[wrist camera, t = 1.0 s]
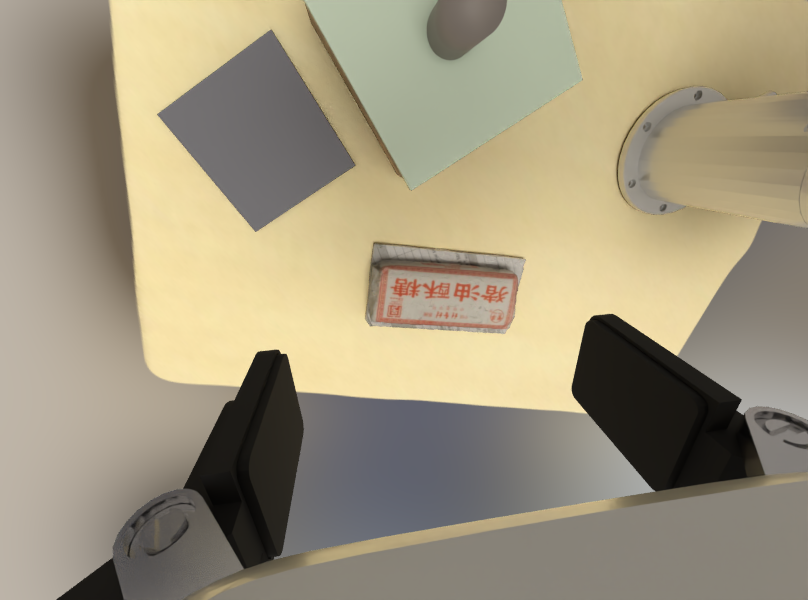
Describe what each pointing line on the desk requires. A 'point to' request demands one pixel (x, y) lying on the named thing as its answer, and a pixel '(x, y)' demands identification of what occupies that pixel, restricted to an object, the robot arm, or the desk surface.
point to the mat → (258, 133)
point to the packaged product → (442, 289)
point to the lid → (448, 70)
